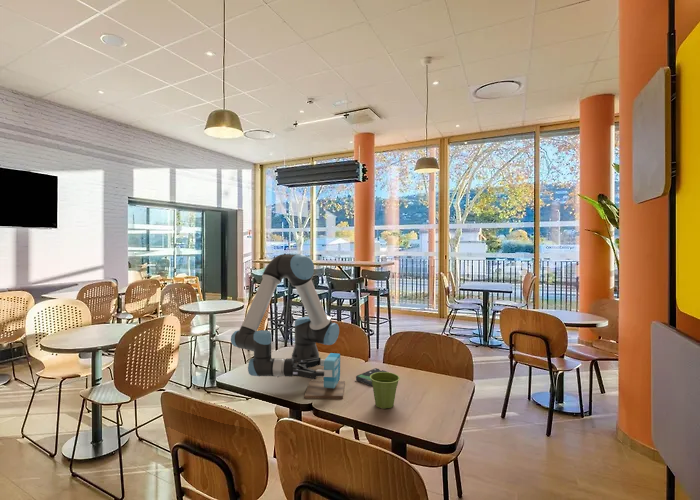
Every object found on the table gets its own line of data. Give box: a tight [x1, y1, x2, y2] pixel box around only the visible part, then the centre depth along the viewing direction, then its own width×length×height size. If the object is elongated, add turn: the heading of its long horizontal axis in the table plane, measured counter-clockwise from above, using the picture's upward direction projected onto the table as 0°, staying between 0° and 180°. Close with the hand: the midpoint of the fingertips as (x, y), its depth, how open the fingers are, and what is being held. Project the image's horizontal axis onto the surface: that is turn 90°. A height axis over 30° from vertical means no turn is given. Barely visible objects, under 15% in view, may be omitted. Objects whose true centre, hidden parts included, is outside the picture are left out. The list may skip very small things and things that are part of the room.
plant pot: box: [370, 371, 401, 410], centre depth 141 cm, size 12×12×11 cm
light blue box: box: [323, 352, 341, 389], centre depth 155 cm, size 12×4×12 cm, turn 169°
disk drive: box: [355, 368, 388, 387], centre depth 169 cm, size 10×3×15 cm
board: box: [304, 380, 346, 400], centre depth 156 cm, size 16×16×1 cm
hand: (333, 368), depth 155 cm, fingers closed on light blue box, 12 cm apart
